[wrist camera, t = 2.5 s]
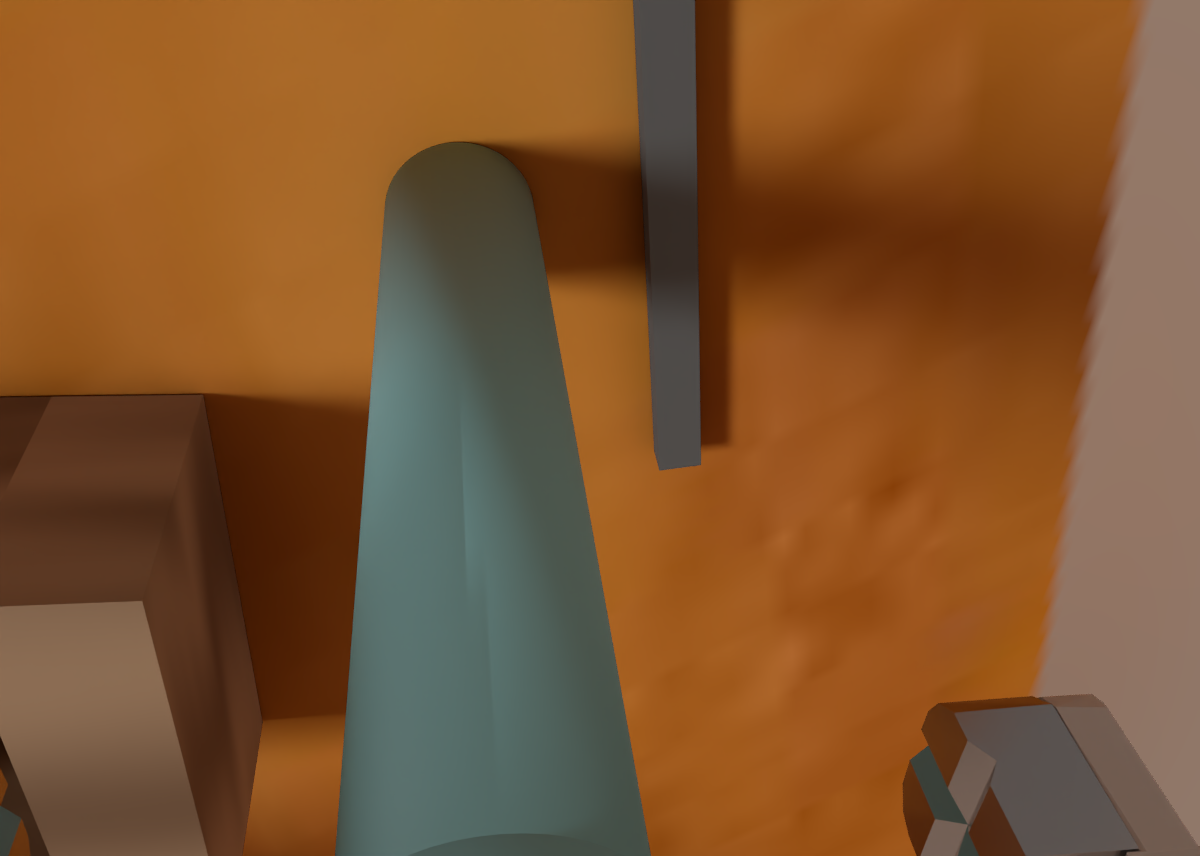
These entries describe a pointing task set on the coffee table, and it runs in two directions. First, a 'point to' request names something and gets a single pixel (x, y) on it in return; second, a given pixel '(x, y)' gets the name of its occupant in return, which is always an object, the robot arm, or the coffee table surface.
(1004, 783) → the robot arm
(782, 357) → the coffee table surface
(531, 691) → the teal capsule
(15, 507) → the block with square hole
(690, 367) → the dark grey bar
